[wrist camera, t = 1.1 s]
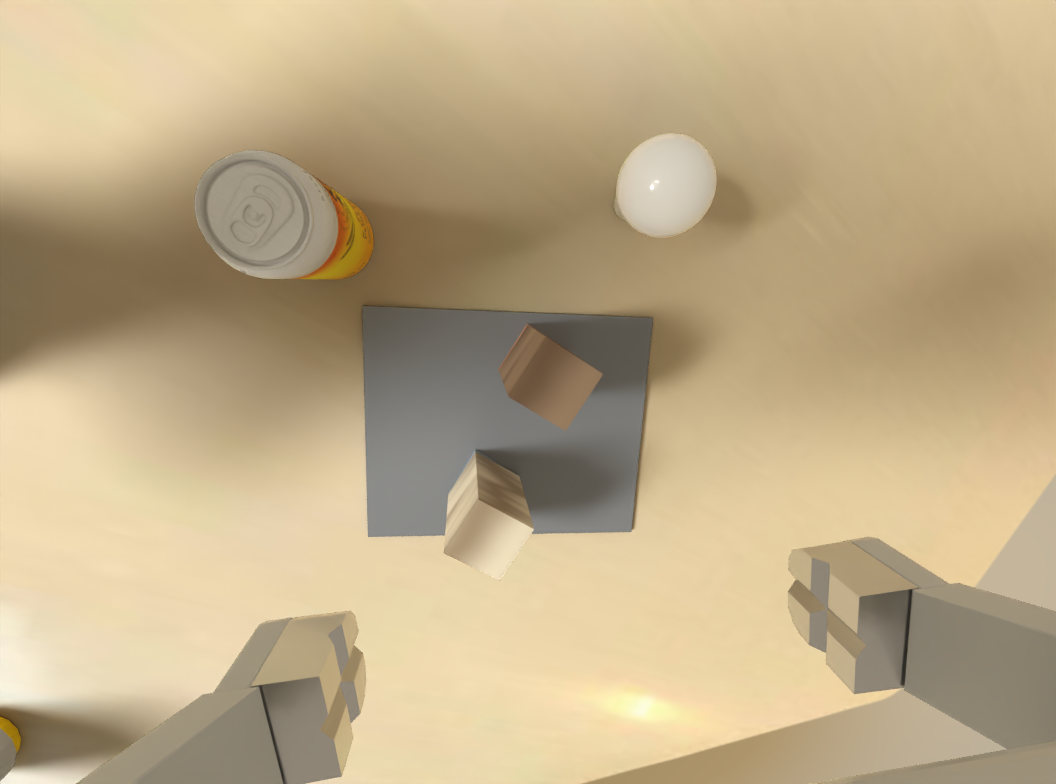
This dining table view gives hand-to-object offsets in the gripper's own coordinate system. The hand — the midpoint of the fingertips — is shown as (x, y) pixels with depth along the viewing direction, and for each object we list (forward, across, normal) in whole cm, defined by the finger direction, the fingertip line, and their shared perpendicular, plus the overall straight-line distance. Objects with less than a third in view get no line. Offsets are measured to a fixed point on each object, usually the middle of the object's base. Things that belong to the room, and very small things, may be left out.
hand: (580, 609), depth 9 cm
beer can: (+33, +12, -11) cm, 37 cm away
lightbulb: (+34, -11, -11) cm, 37 cm away
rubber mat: (+33, 0, +6) cm, 34 cm away
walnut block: (+33, -2, 0) cm, 33 cm away
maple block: (+33, +3, +11) cm, 35 cm away
